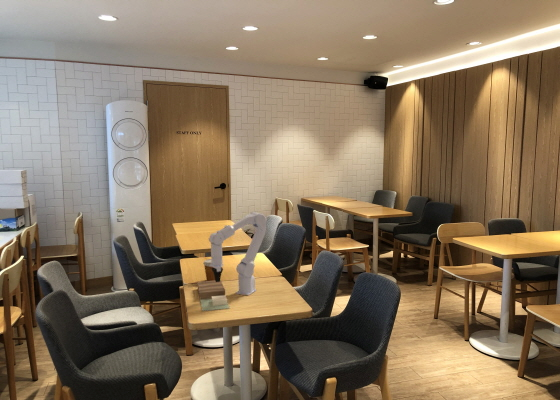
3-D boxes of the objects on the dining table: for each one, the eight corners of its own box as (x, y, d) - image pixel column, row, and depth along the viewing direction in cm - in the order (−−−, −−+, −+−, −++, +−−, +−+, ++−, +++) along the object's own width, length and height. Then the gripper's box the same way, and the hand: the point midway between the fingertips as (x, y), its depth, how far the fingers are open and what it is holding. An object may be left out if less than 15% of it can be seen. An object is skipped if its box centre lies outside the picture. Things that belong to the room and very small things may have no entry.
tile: (212, 301, 211) (213, 305, 212) (227, 299, 213) (227, 304, 213) (211, 296, 218) (211, 301, 218) (225, 295, 220) (225, 299, 220)
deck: (197, 288, 240) (197, 281, 240) (220, 286, 243) (220, 280, 243) (200, 300, 221) (199, 292, 221) (225, 297, 225) (225, 290, 224)
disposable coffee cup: (201, 282, 253) (200, 262, 252) (208, 277, 262) (207, 258, 261) (215, 283, 250) (215, 263, 249) (222, 278, 259) (222, 259, 258)
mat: (200, 299, 222) (200, 299, 222) (225, 297, 225) (225, 296, 225) (202, 311, 205) (202, 310, 205) (229, 308, 209) (229, 307, 209)
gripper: (207, 253, 229) (208, 278, 230) (210, 259, 215) (211, 286, 216) (220, 252, 231) (221, 277, 232) (224, 258, 217) (225, 285, 218)
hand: (217, 281), depth 224 cm, fingers closed
